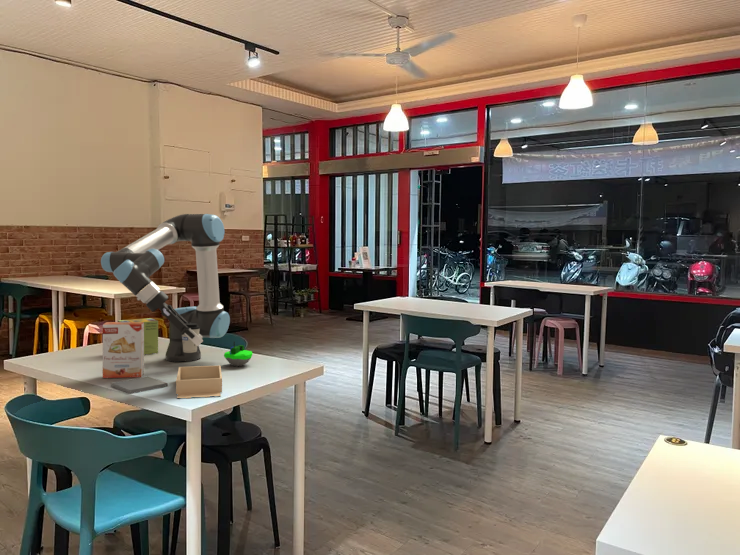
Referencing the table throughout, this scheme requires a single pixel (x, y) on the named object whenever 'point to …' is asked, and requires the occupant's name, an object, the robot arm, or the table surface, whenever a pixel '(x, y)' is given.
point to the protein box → (148, 334)
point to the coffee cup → (187, 343)
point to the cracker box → (123, 349)
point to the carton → (199, 381)
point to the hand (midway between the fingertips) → (200, 341)
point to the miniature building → (238, 355)
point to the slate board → (139, 384)
